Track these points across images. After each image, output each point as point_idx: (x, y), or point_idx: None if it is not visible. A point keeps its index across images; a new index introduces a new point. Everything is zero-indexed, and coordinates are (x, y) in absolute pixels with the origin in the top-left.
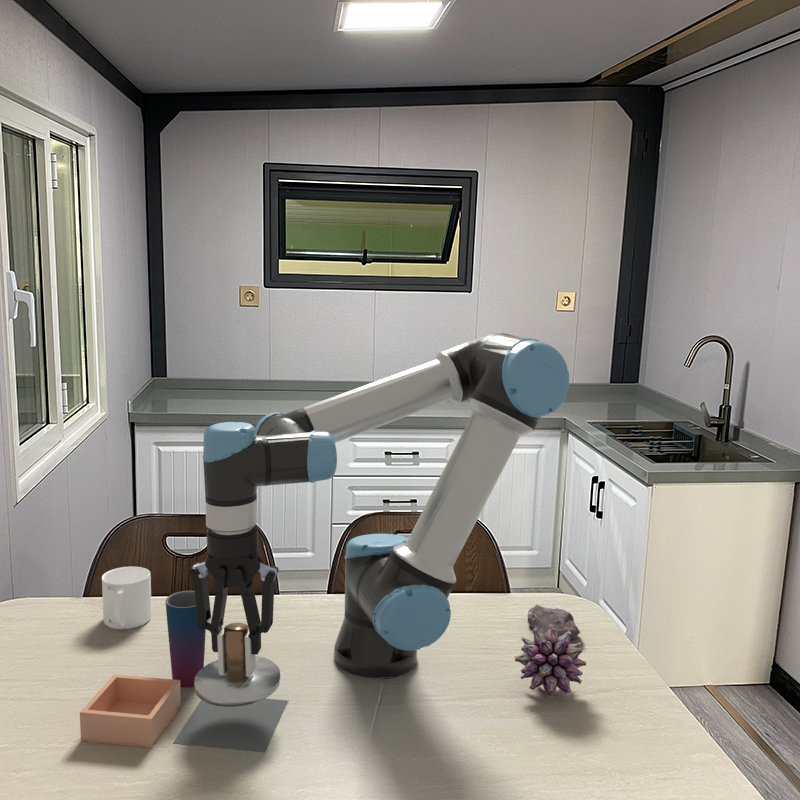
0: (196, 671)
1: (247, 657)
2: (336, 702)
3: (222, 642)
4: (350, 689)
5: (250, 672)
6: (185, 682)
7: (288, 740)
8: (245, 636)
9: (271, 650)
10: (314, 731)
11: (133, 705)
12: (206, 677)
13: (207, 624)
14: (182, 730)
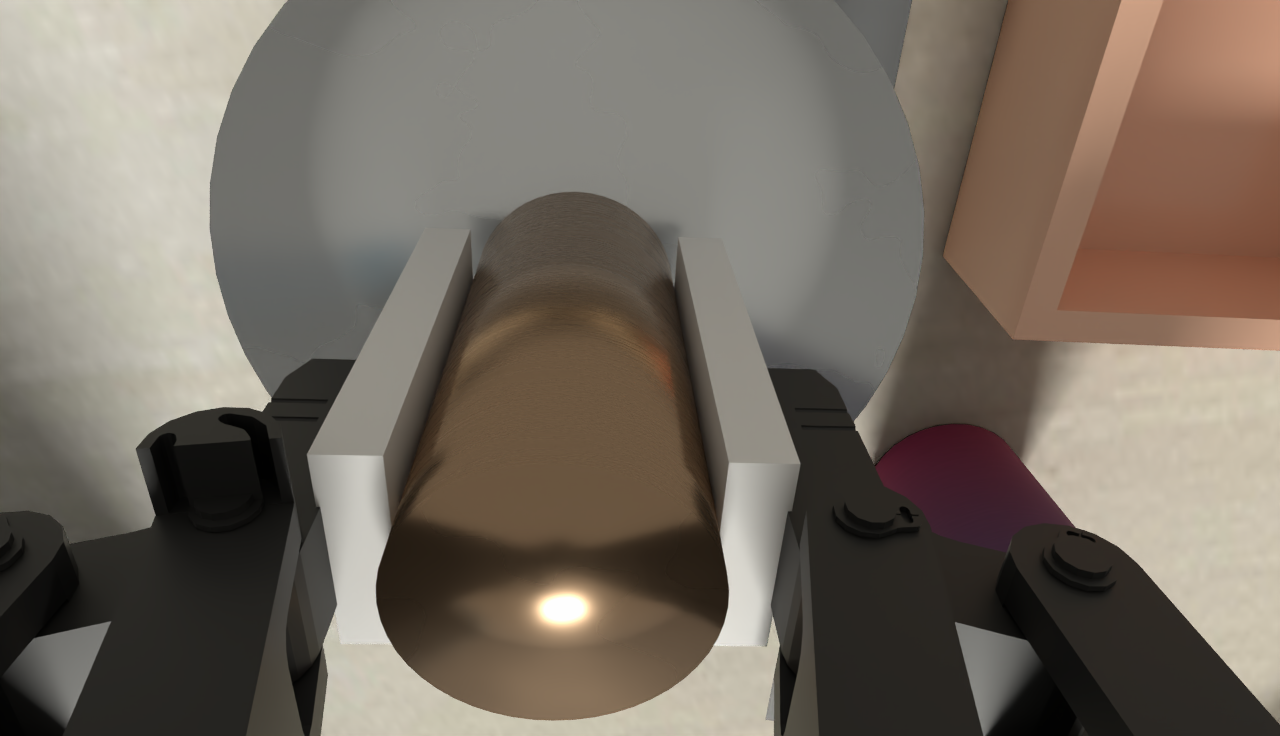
0: (915, 501)
1: (415, 311)
2: (130, 397)
3: (714, 406)
4: (115, 503)
5: (420, 244)
6: (956, 446)
7: (228, 9)
8: (374, 466)
9: (602, 725)
10: (118, 122)
11: (1229, 218)
12: (828, 247)
13: (997, 607)
14: (899, 18)
